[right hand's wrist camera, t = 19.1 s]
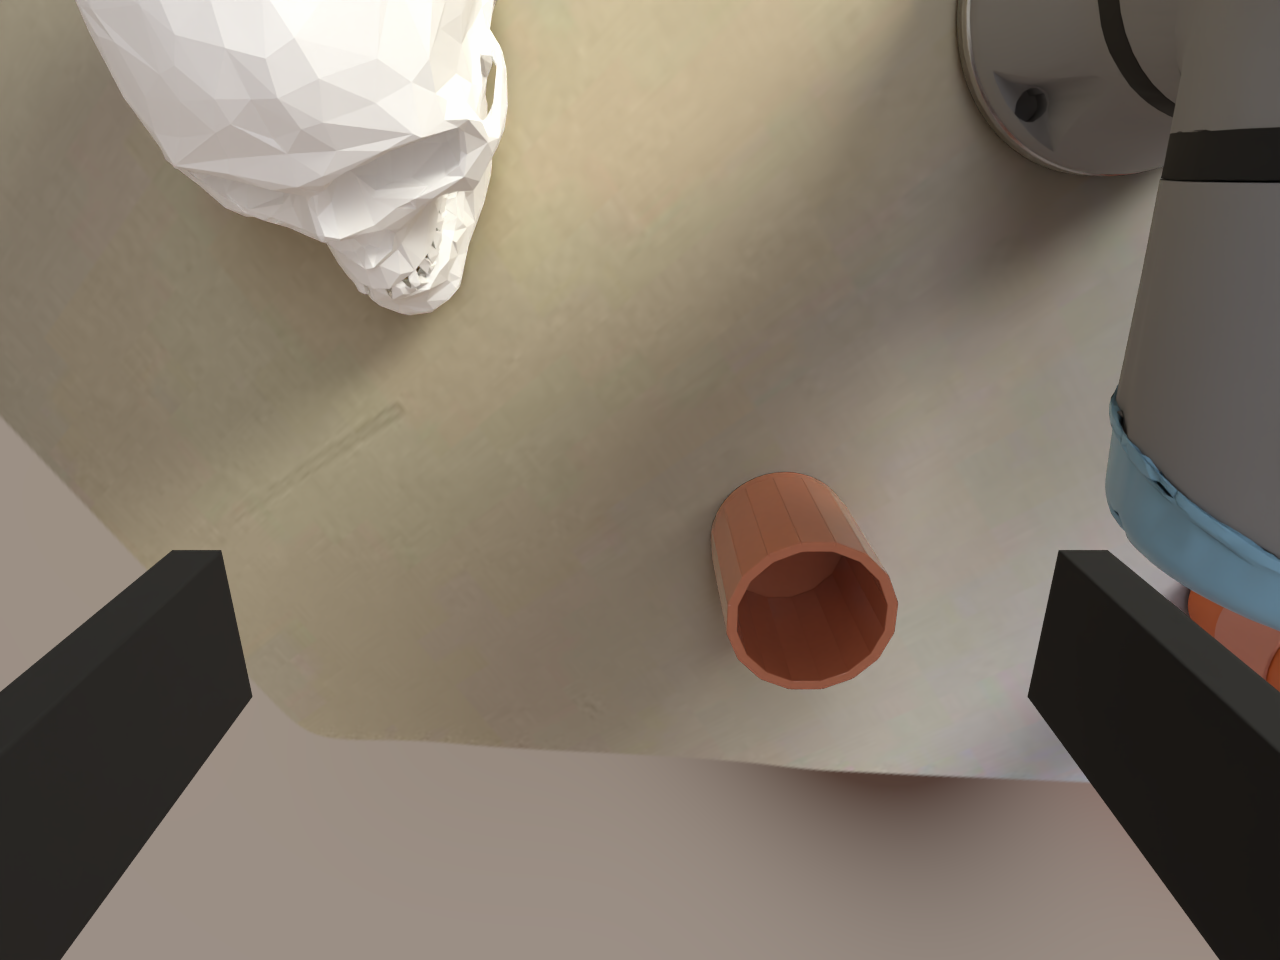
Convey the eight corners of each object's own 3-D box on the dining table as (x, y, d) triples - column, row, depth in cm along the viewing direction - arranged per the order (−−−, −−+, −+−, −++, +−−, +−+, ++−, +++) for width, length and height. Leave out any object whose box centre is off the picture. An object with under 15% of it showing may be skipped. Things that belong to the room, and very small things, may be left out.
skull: (317, 332, 41) (157, 421, 27) (148, -183, 34) (-214, -461, 19) (570, 283, 41) (549, 346, 26) (458, -249, 33) (338, -587, 18)
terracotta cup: (712, 471, 45) (730, 542, 36) (855, 471, 45) (906, 541, 36) (708, 597, 48) (724, 690, 39) (843, 596, 48) (887, 689, 39)
